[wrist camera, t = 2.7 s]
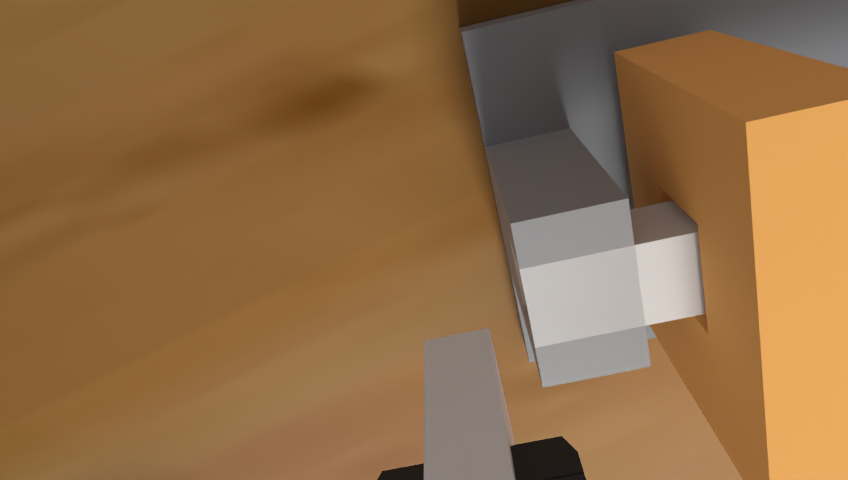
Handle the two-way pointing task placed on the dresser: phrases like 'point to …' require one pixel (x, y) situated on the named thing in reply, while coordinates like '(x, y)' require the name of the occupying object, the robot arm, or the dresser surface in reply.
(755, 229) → the slotted orange slab
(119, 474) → the dresser surface
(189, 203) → the dresser surface
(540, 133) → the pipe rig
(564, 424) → the dresser surface
